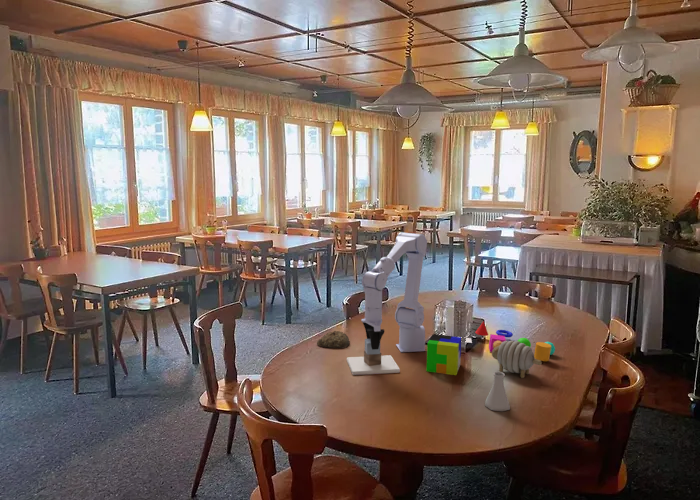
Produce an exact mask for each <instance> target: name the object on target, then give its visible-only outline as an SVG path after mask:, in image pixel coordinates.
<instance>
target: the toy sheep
mask: <svg viewBox="0 0 700 500" xmlns="http://www.w3.org/2000/svg"><path fill="white" fill-rule="evenodd" d="M491 356H492V358H493V359H495V360H497V362H498V364H499V367H498V369H499V370H498V372H502V373H504V369H505V370H506V371H507V370H508V372H510V373H511V374H512V373H515V374H520V378H521V379H524V378H525V376H526V375H529V374H530V369H531V368H532V367H533V366H534V365H537V366H541V365H542V363H543V361H540V360H537V359H535V357H534V352H533V350H532V347H531V348H530V347H529V346H526V345H525V344H524V343H520V342H519V341H518V340H515V341H514V340H508V341H507V340H506V341H504V342H502V343H501V345H499V346H497V347H495V348H494V349H493V351H492V352H491Z"/></svg>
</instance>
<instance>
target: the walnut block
mask: <svg viewBox="0 0 700 500" xmlns="http://www.w3.org/2000/svg"><path fill="white" fill-rule="evenodd" d="M381 356H382V352H380V354H369V355H367V353H366V352H365V349H364V351H363V357H364V362H365V363H366V364H367V365H368V366H374V365H381Z"/></svg>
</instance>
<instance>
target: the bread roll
mask: <svg viewBox="0 0 700 500" xmlns="http://www.w3.org/2000/svg"><path fill="white" fill-rule="evenodd" d="M350 343H351V342H350V338H349V336H348V335H347V333H345V332H342V331H340V330H334V331H329V332H327V333H326V334H324V335H322V337H320V338H319V339H318V341H317V342H316V345H317V346H318V347H323V348H332V349H337V348H338V349H345V348H347V347H348V346H349V345H350Z"/></svg>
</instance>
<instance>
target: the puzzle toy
mask: <svg viewBox="0 0 700 500" xmlns="http://www.w3.org/2000/svg"><path fill="white" fill-rule="evenodd" d="M462 337H463V336H453V335H451V336H450V335H444V334H443V335H442V334H435V333H433V334H432V335H431V336H430V338H429V340H428V342H427V345H426V346H427V347H426V367H425V368H426V370H425V371H426V372H429V373H438V374H445V375H450V376H457V374H458V372H459V369H460V366H461V356H462V341H461V338H462Z"/></svg>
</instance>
